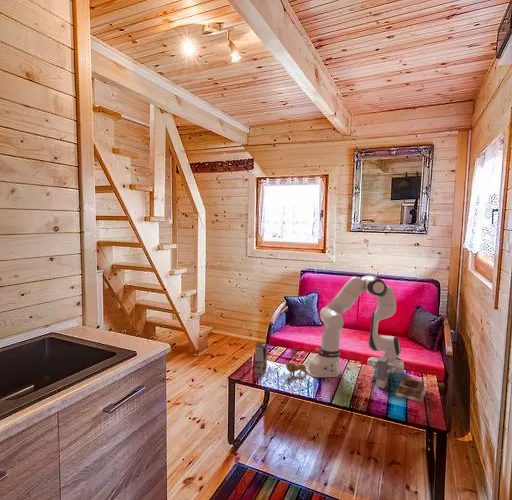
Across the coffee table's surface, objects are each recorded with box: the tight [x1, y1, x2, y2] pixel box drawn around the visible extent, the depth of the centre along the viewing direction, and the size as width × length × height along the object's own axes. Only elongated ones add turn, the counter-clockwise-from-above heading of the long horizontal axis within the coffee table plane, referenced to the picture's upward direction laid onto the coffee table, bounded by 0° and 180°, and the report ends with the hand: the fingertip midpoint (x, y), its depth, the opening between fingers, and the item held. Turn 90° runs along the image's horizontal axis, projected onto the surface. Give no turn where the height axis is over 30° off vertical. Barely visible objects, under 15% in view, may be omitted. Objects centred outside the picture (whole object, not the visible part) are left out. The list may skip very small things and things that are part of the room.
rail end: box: [375, 356, 388, 389], centre depth 188 cm, size 4×7×15 cm, turn 146°
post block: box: [394, 376, 428, 403], centre depth 179 cm, size 13×16×5 cm
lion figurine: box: [285, 361, 308, 378], centre depth 198 cm, size 15×5×9 cm, turn 117°
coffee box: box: [254, 342, 268, 374], centre depth 204 cm, size 9×6×16 cm
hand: (382, 369), depth 188 cm, fingers open, 8 cm apart
